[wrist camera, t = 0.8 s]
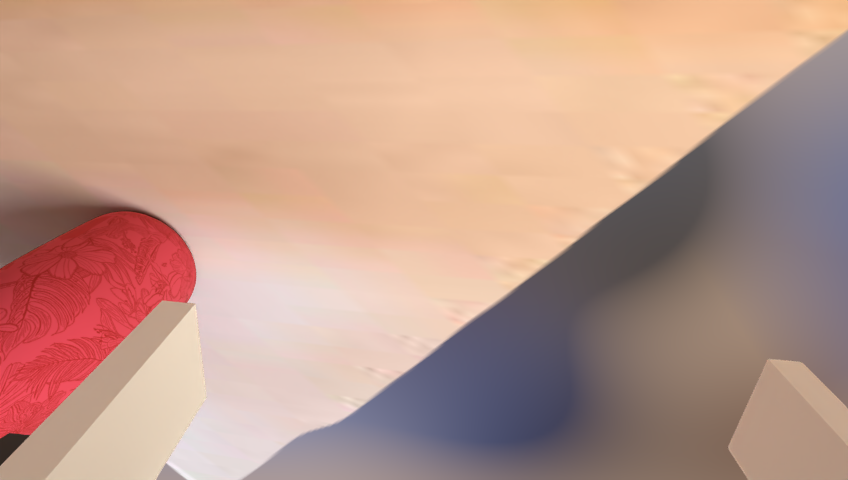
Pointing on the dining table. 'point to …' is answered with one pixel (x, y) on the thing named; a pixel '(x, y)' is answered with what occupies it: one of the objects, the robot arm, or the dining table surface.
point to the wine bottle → (80, 307)
